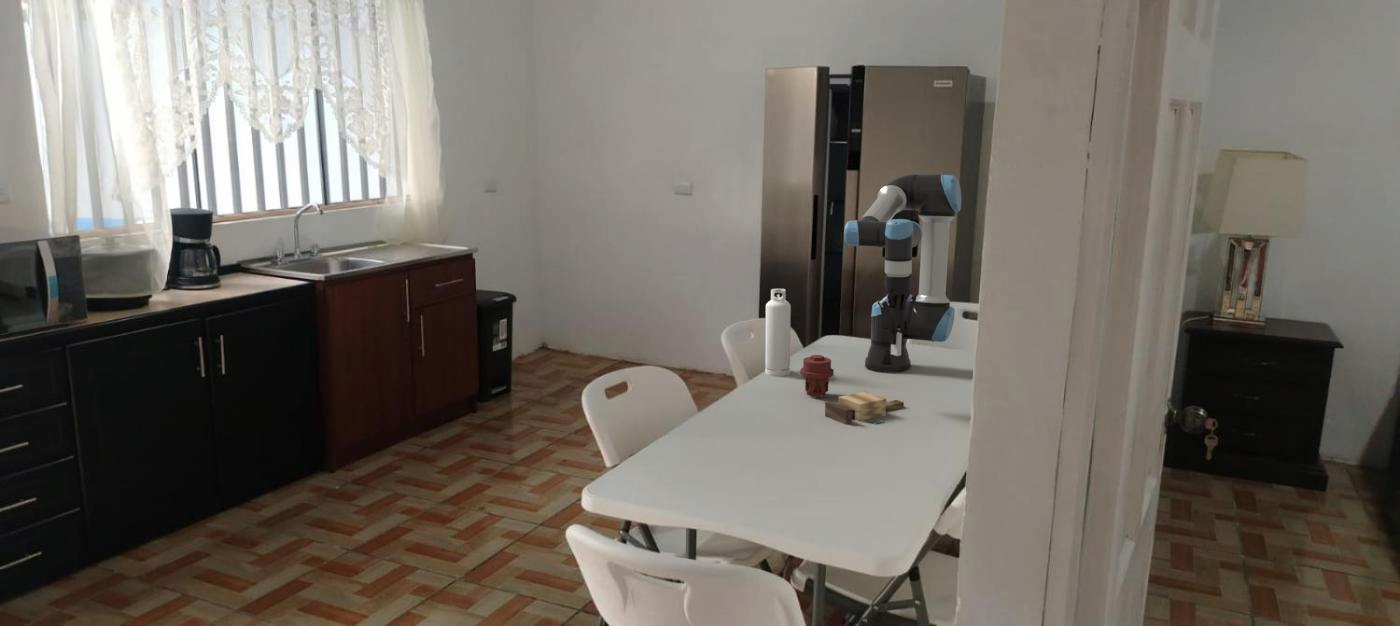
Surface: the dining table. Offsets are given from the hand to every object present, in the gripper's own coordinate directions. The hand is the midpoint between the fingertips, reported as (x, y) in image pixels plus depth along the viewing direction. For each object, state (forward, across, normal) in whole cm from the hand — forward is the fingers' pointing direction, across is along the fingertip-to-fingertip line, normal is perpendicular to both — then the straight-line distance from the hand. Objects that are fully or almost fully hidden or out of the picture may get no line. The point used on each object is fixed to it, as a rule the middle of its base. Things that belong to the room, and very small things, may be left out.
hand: (895, 354), depth 281 cm
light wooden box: (+16, +13, 0) cm, 20 cm away
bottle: (+17, +6, -50) cm, 53 cm away
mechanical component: (+16, +12, -22) cm, 29 cm away
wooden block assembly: (+16, +10, 0) cm, 19 cm away
